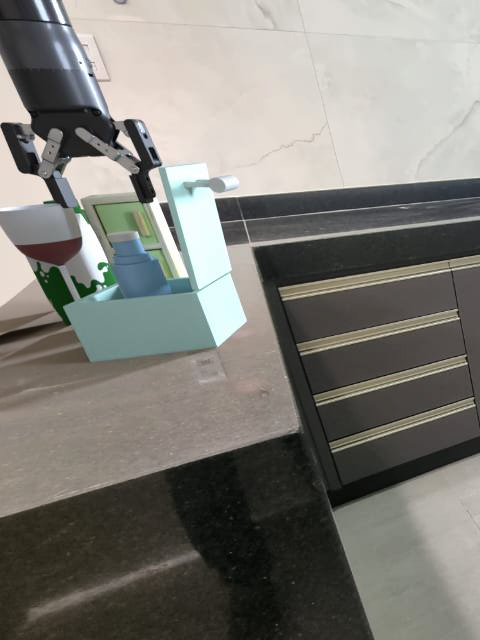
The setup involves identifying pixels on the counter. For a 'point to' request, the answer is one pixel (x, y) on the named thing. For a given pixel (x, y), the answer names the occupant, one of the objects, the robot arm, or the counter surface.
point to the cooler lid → (198, 219)
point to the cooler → (156, 320)
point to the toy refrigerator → (134, 227)
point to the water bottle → (136, 267)
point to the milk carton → (75, 270)
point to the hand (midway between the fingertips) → (110, 205)
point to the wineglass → (44, 234)
